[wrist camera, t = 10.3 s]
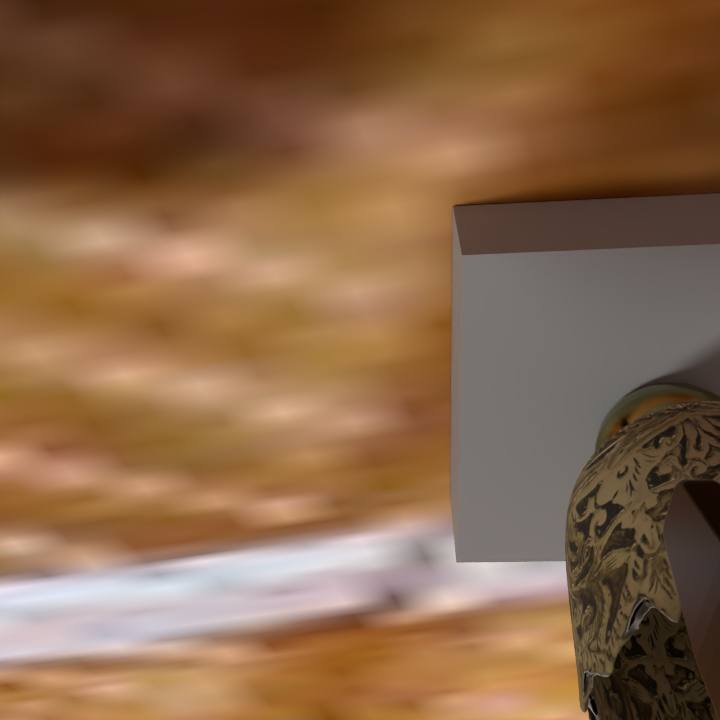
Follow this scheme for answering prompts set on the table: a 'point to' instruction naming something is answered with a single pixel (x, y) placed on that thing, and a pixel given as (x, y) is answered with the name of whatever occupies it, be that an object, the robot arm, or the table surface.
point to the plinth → (566, 348)
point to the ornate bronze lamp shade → (637, 556)
